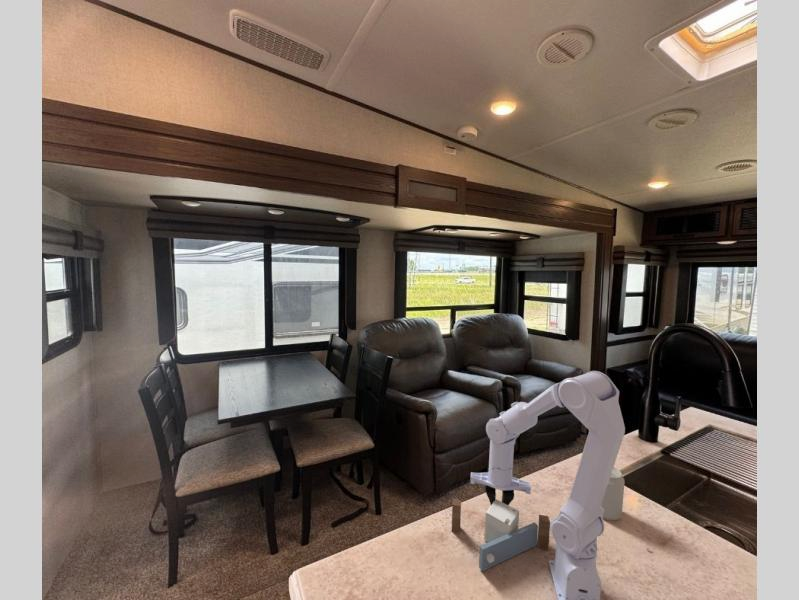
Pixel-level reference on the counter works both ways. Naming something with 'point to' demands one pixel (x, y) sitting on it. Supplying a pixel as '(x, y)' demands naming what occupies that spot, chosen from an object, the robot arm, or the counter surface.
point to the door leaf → (507, 546)
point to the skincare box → (500, 520)
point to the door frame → (542, 527)
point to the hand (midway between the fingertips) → (498, 513)
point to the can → (613, 496)
